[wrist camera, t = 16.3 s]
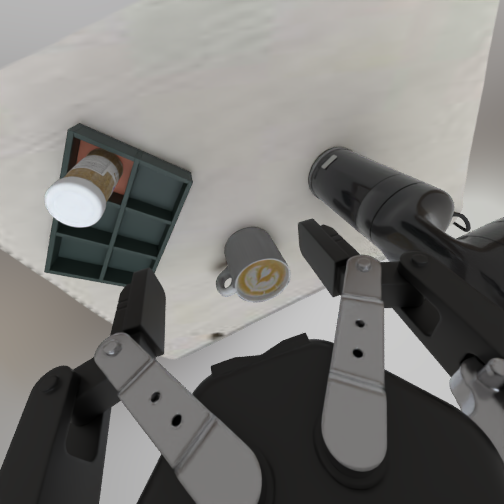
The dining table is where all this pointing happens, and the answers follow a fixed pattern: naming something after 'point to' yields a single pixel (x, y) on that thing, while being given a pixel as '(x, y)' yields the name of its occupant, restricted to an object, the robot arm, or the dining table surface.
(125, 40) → the dining table surface
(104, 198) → the sprinkles bottle
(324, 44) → the dining table surface
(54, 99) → the dining table surface
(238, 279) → the coffee mug
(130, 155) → the rack
